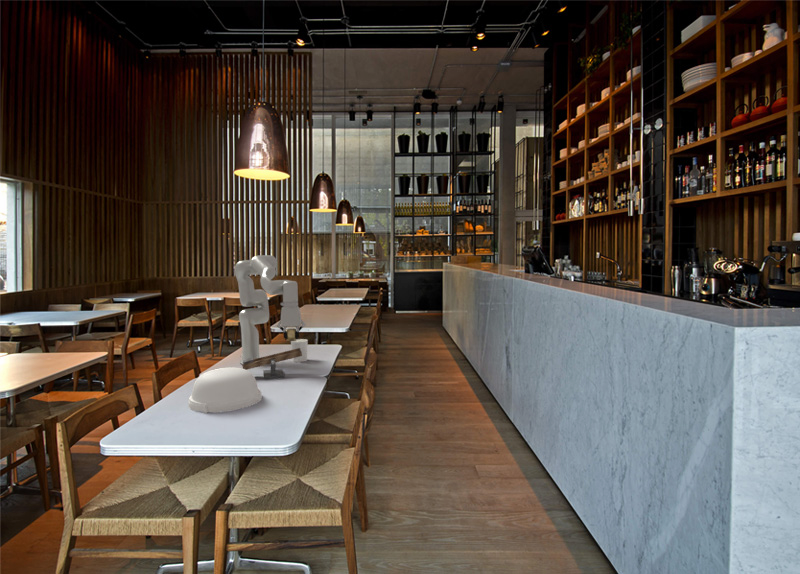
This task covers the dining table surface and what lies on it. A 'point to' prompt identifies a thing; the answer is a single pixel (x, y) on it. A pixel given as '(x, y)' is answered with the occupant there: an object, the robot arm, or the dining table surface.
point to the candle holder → (303, 347)
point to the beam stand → (273, 372)
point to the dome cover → (224, 390)
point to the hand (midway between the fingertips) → (291, 338)
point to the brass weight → (291, 334)
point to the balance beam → (267, 359)
